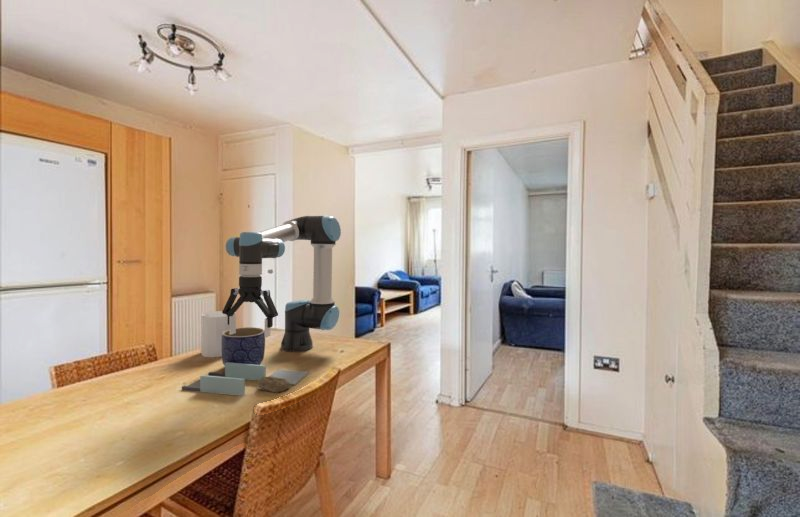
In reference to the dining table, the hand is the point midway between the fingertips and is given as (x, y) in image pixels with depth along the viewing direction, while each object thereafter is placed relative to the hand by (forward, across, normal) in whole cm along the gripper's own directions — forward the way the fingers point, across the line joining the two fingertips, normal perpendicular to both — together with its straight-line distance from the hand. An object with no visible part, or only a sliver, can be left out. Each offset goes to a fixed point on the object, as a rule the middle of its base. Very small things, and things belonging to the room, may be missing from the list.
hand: (249, 335), depth 132 cm
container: (+19, -36, +33) cm, 53 cm away
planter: (+19, -14, +18) cm, 29 cm away
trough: (+19, -9, 0) cm, 21 cm away
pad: (+19, +8, +11) cm, 23 cm away
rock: (+19, +9, +1) cm, 21 cm away
